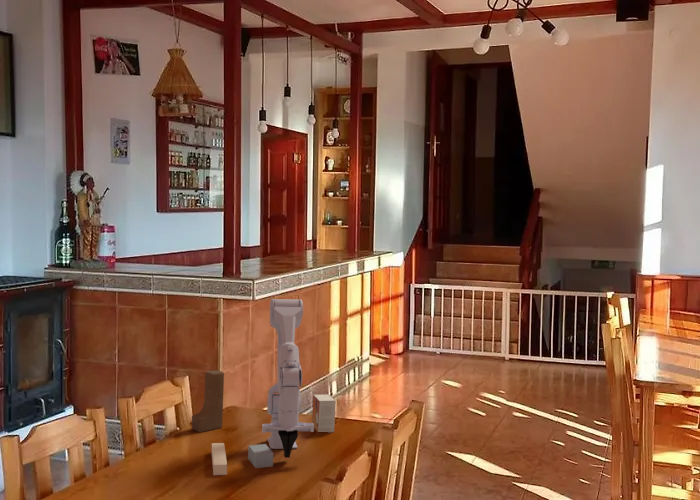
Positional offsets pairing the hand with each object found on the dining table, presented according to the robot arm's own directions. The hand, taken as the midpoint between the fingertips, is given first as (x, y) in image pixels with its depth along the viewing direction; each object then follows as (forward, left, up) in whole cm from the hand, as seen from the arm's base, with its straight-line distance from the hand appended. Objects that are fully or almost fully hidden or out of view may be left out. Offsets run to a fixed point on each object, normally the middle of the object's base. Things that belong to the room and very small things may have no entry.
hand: (286, 456), depth 216 cm
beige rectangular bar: (0, -19, -1) cm, 19 cm away
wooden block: (-33, -21, -2) cm, 39 cm away
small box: (-30, +16, -2) cm, 33 cm away
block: (0, -7, -2) cm, 8 cm away
